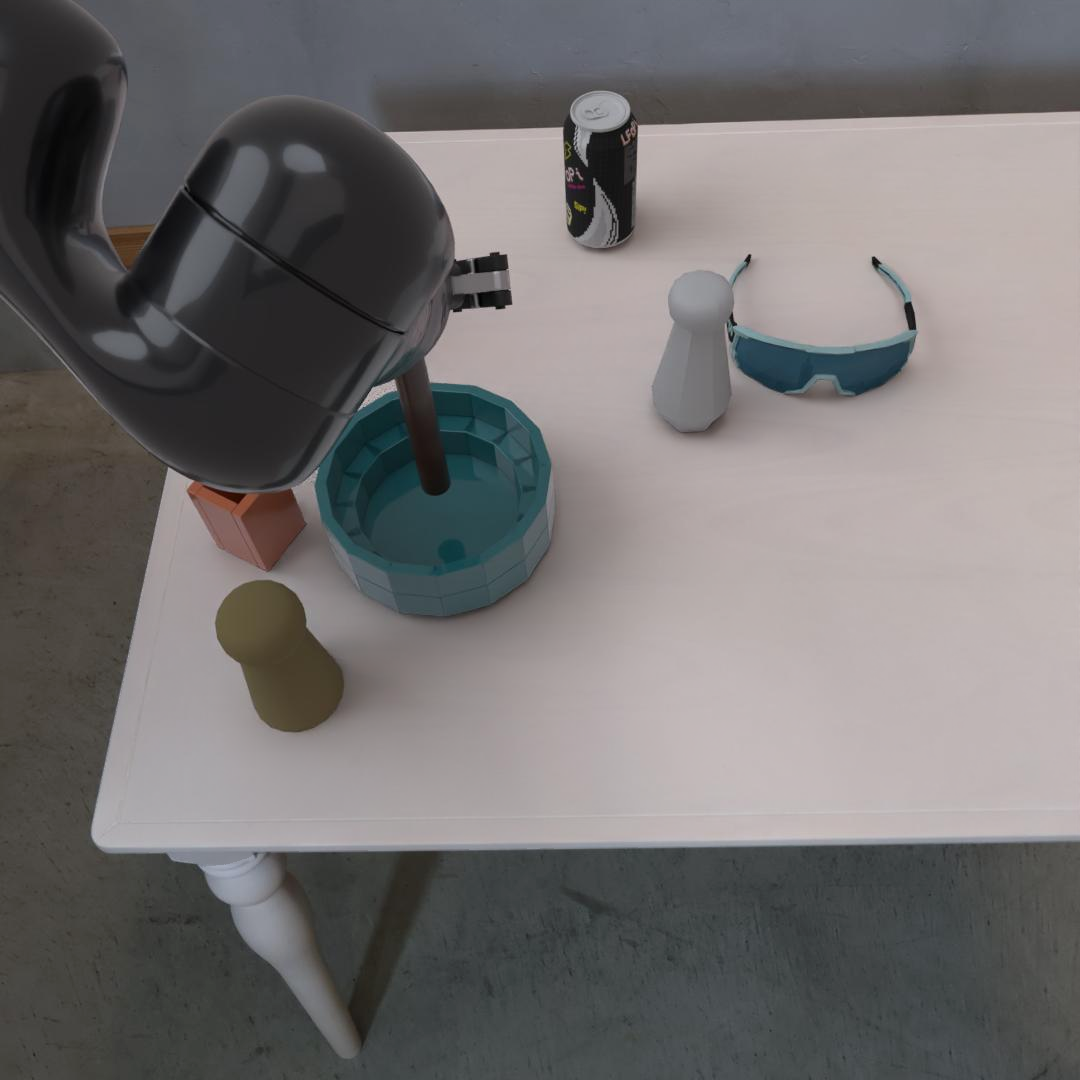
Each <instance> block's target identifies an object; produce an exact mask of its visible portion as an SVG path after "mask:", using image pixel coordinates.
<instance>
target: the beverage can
mask: <svg viewBox="0 0 1080 1080" xmlns="http://www.w3.org/2000/svg"><path fill="white" fill-rule="evenodd" d="M638 125H639V124H638V121H637V119H636V116H635V114H634V113H633V112H632V111H631V105H630V103H629V102H628V100H627V99H626V98H625V96H624V97H623V95H621V94H619V93H616V92H613V91H610V90H609V91H608V90H593V91H590V92H587V93H584V94H582V95H580V96H578V97H577V98H576V99H574V101H573V102H572V104H571V106H570V111H569V113H568V114H567V116H566V118H565V119H564V123H563V128H562V140H563V165H564V167H563V168H564V187H565V188H564V193H565V217H566V219H565V220H566V229H567V231H568V234H569V235H570V236H571V238H572V239H573V240H575V241H576V243H578V244H581V245H582V246H586V247H588V248H593V249H608V248H612V247H616V246H618V245H620V244H622V243H624V242H625V241H626V240H627V239H629V238H630V237H631V235H632V234H633V233H634V230H635V228H636V214H637V212H636V210H637V208H636V207H637V181H638V180H637V176H638V174H637V173H638V169H637V168H638V143H639V141H638V139H639V138H638V137H639V126H638Z"/></svg>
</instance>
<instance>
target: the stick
mask: <svg viewBox="0 0 1080 1080" xmlns="http://www.w3.org/2000/svg"><path fill="white" fill-rule="evenodd" d="M393 381H394V383H395V387H396V391H397V392H398V396H399V400H400V404H401V408H402V412H403V416H404V419H405V423H406V427H407V431H408V435H409V439H410V443H411V447H412V451H413V455H414V459H415V463H416V467H417V471H418V475H419V479H420V483H421V487H422V489H423V491H424V492H425V493H426V494H428V495H431V496H438V495H442V494H444V493H445V492H446V491H447V490H448V489H449V488H450V485H451V480H450V475H449V471H448V466H447V461H446V457H445V452H444V447H443V442H442V438H441V433H440V428H439V424H438V419H437V414H436V409H435V405H434V400H433V395H432V391H431V386H430V383H431V382H430V377H429V373H428V368H427V363H426V358H425V357H424V358H423V359H422V360H420V361H419V362H418V363H417V364H416V365H414V366H413V367H412V368H411V369H409V370H408V371H407V372H405V373H404V374H402V375H401V376H400V377H398V378H396V379H394V380H393Z"/></svg>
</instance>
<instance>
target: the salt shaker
mask: <svg viewBox="0 0 1080 1080" xmlns="http://www.w3.org/2000/svg"><path fill="white" fill-rule="evenodd" d="M728 281H729V280H728V279H727V278H725V276H723V275H721V274H719V273H716V272H714V271H712V270H706V269H695V270H693V271H689V272H688V271H687V272H684V273H683V274H682V275H680V276H679V277H677V278H675V279H674V281H673V283H672V285H671V287H670V289H669V293H668V295H667V303H668V305H667V306H668V312H669V316H670V318H671V319H672V320H673V321H674V322H673V325H672V326H671V327H672V328H671V330H670V334H669V336H668V339H667V343H666V346H665V348H664V351H663V354H662V357H661V359H660V362H659V364H658V367H657V370H656V373H655V375H654V378H653V382H652V384H651V397H652V402H653V406H654V407H655V409H656V410H657V411H658V413H659V414H660V416H661V417H662V419H663V420H664V421H666V422H667V423H668V424H669V425H670V426H672V427H673V428H674V429H676V430H677V431H678V432H679V433H680V434H681V433H694V432H695V433H697V432H706V431H707V429H708V428H709V427H710V426H711V424H712V423H713V422H714V421H716V420H717V419H718V418H719V417H721V416H722V415H724V413H725V412H726V410H727V408H728V406H729V404H730V401H731V398H732V396H733V393H732V392H733V391H732V383H731V373H730V364H729V356H728V346H727V338H726V329H725V324H727V321H728V319H729V317H730V315H731V313H732V311H733V312H734V308H735V295H734V291H733V288H732V286H731V284H730V283H729V282H728Z"/></svg>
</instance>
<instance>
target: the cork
mask: <svg viewBox="0 0 1080 1080" xmlns="http://www.w3.org/2000/svg"><path fill="white" fill-rule="evenodd" d="M305 609H306V608H305V607H304V605H303V602H302V601H301V600H300V597H298V594H297V593H296V592H295V591H293V590H292V589H290V588H289V587H288V586H286V585H285V584H283V583H282V582H278V581H275V580H272V579H255V580H251V581H248V582H244V583H242V584H240V585H239V586H237V587H235V588H233V589H232V590H231V591H230V592H229V593H228V594H227V595H226V596H225V597H224V599H223V600H222V602H221V603H220V605H219V607H218V609H217V611H216V614H215V620H214V626H215V633H216V639H217V641H218V643H219V644H220V647H221V648H222V649H223V651H224V652H225V654H226V655H227V656H229V657H230V658H231V659H232V660H233V661H235V662H237V663H238V664H239V665H240V667H241V671H242V674H243V677H244V680H245V683H246V687H247V691H248V693H249V696H250V699H251V702H252V705H253V708H254V710H255V712H256V714H257V715H258V717H259V718H260V719H259V720H261V721H262V722H263V723H265V724H266V725H267V726H269V727H270V728H272V729H275V730H278V731H280V732H283V733H284V732H285V733H300V732H303V731H307V730H310V729H314V728H315V727H317V726H318V725H320V724H322V723H324V722H325V721H326V720H327V719H329V717H330V716H331V715H332V714H333V713H334V712H335V711H336V709H337V708H338V706H339V704H340V702H341V700H342V698H343V693H344V686H345V680H344V675H343V670H342V668H341V667H340V666H339V664H338V663H337V660H335V658H334V657H333V656H332V655H331V654H330V652H329V651H328V650H327V649H326V648H325V646H324V645H323V644H322V643H321V642H320V641H319V639H318V638H317V637H316V636H315V635H314V634H313V632H312V631H311V630H310V629H309V628H308V627H307V617H306V616H307V615H306V610H305Z"/></svg>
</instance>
